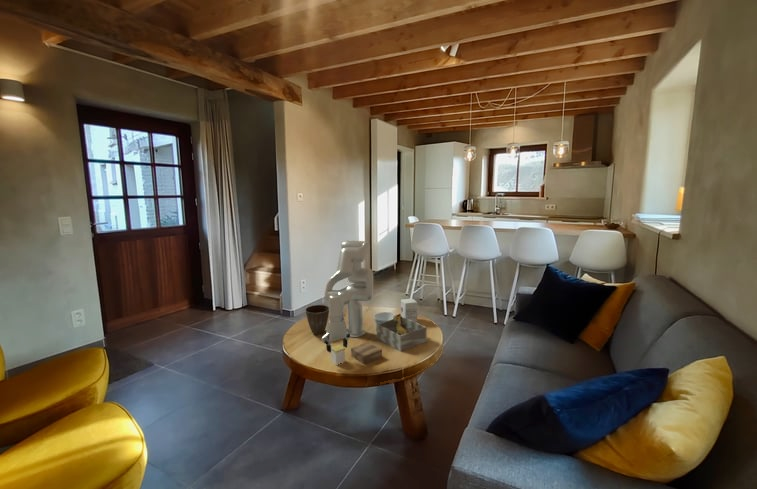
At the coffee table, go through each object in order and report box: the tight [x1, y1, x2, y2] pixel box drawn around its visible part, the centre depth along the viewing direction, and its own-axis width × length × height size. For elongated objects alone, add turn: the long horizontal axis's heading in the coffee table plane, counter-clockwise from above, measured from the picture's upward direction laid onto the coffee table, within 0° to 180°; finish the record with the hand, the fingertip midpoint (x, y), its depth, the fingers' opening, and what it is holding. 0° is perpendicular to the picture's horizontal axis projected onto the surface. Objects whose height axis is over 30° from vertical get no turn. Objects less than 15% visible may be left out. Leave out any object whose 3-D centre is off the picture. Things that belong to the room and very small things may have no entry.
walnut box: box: [350, 342, 383, 366], centre depth 186 cm, size 12×12×5 cm
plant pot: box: [305, 304, 329, 335], centre depth 218 cm, size 15×15×16 cm
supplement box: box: [400, 297, 418, 323], centre depth 235 cm, size 9×9×15 cm
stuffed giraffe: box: [393, 313, 407, 335], centre depth 206 cm, size 16×18×16 cm
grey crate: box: [375, 317, 428, 352], centre depth 207 cm, size 23×21×9 cm
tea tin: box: [330, 344, 346, 366], centre depth 181 cm, size 6×6×8 cm
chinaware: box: [373, 311, 396, 324], centre depth 226 cm, size 15×15×8 cm
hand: (337, 349), depth 180 cm, fingers open, 9 cm apart
